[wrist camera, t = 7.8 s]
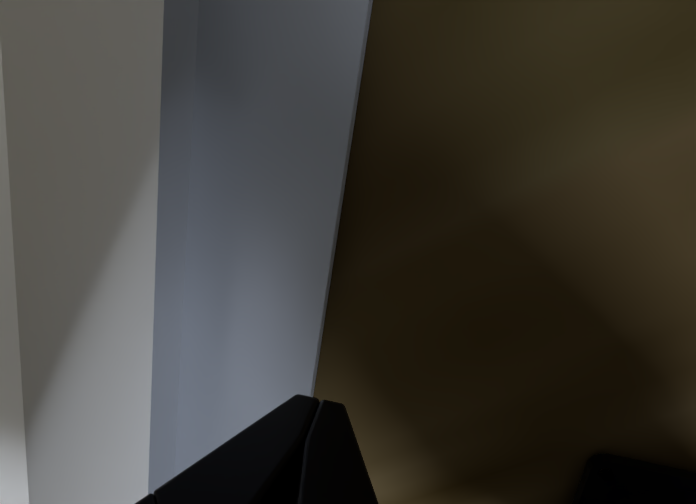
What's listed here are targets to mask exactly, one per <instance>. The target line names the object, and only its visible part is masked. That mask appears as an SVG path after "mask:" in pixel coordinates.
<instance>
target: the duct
mask: <svg viewBox="0 0 696 504" xmlns="http://www.w3.org/2000/svg"><path fill="white" fill-rule="evenodd" d="M372 3H373V0H164V16H163V46H162V77H161V108H160V139H159V170H158V201H157V232H156V262H155V293H154V324H153V355H152V386H151V417H150V447H149V478H148V494H150V493H152V494H153V492H154V491H155V490H156V489H157V488H159V487H160V486H162V485H163V484H165V483H166V482H167V481H169V480H170V479H172V478H173V477H175V476H176V475H178V474H179V473H181V472H182V471H184V470H185V469H187V468H188V467H190V466H191V465H193V464H194V463H195V462H197V461H198V460H200V459H201V458H203V457H204V456H206V455H207V454H209V453H210V452H212V451H213V450H215V449H216V448H218V447H219V446H220V445H222V444H223V443H225V442H226V441H228V440H229V439H231V438H232V437H234V436H235V435H237V434H238V433H240V432H241V431H243V430H244V429H246V428H247V427H248V426H250V425H251V424H253V423H254V422H256V421H257V420H259V419H260V418H262V417H263V416H265V415H266V414H268V413H269V412H271V411H272V410H273V409H275V408H276V407H278V406H279V405H281V404H282V403H284V402H285V401H287V400H288V399H290V398H291V397H293V396H294V395H296V394H301V395H305V396H310V397H313V394H314V388H315V381H316V374H317V368H318V361H319V354H320V348H321V341H322V335H323V328H324V321H325V315H326V308H327V301H328V295H329V288H330V282H331V275H332V268H333V262H334V255H335V248H336V242H337V235H338V229H339V222H340V215H341V209H342V202H343V195H344V189H345V182H346V176H347V169H348V162H349V156H350V149H351V142H352V136H353V129H354V123H355V116H356V109H357V103H358V96H359V89H360V83H361V76H362V69H363V63H364V56H365V50H366V43H367V36H368V30H369V23H370V16H371V10H372Z"/></svg>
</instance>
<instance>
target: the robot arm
mask: <svg viewBox="0 0 696 504" xmlns="http://www.w3.org/2000/svg"><path fill="white" fill-rule="evenodd" d="M604 468H609V471H607V472H605V473H600V472H599V471H600V470H601V469H604ZM135 504H378V501H377V498H376V495H375V492H374V489H373V486H372V484H371V481H370V478H369V475H368V472H367V469H366V466H365V463H364V460H363V457H362V454H361V451H360V449H359V446H358V443H357V440H356V437H355V434H354V431H353V428H352V425H351V422H350V419H349V416H348V414H347V411H346V408H345V406H344V405H343V404H342V403H337V402H333V401H328V400H322V401H320V402H319V400H318V399H317V398H314V397H310V396H305V395H301V394H296V395H294V396H293V397H291V398H290V399H288V400H287V401H285V402H284V403H282V404H281V405H279V406H278V407H276V408H275V409H273V410H272V411H271V412H269V413H268V414H266V415H265V416H263V417H262V418H260V419H259V420H257V421H256V422H254V423H253V424H251V425H250V426H248V427H247V428H246V429H244V430H243V431H241V432H240V433H238V434H237V435H235V436H234V437H232V438H231V439H229V440H228V441H226V442H225V443H223V444H222V445H220V446H219V447H218V448H216V449H215V450H213V451H212V452H210V453H209V454H207V455H206V456H204V457H203V458H201V459H200V460H198V461H197V462H195V463H194V464H193V465H191V466H190V467H188V468H187V469H185V470H184V471H182V472H181V473H179V474H178V475H176V476H175V477H173V478H172V479H170V480H169V481H167V482H166V483H165V484H163V485H162V486H160V487H159V488H157V489H156V490H155V491H154V492H153V494H152V493H150V494H148V495H147V496H145V497H144V498H142V499H141V500H139V501H138V502H136V503H135ZM572 504H696V473H693V472H689V471H684V470H680V469H675V468H670V467H666V466H661V465H657V464H652V463H647V462H643V461H638V460H633V459H629V458H624V457H620V456H615V455H610V454H602V453H601V454H597V455H594V456H592V457H591V458H590V459H589V460H588V462H587V464H586V466H585V469H584V472H583V474H582V477H581V480H580V482H579V485H578V488H577V491H576V493H575V496H574V499H573V501H572Z"/></svg>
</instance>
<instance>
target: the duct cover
mask: <svg viewBox="0 0 696 504" xmlns="http://www.w3.org/2000/svg"><path fill="white" fill-rule="evenodd" d="M163 16H164V0H0V504H135V503H136V502H138V501H139V500H141V499H142V498H144V497H145V496H147V495H148V478H149V447H150V417H151V386H152V355H153V324H154V293H155V262H156V232H157V201H158V170H159V139H160V108H161V77H162V46H163Z"/></svg>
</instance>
